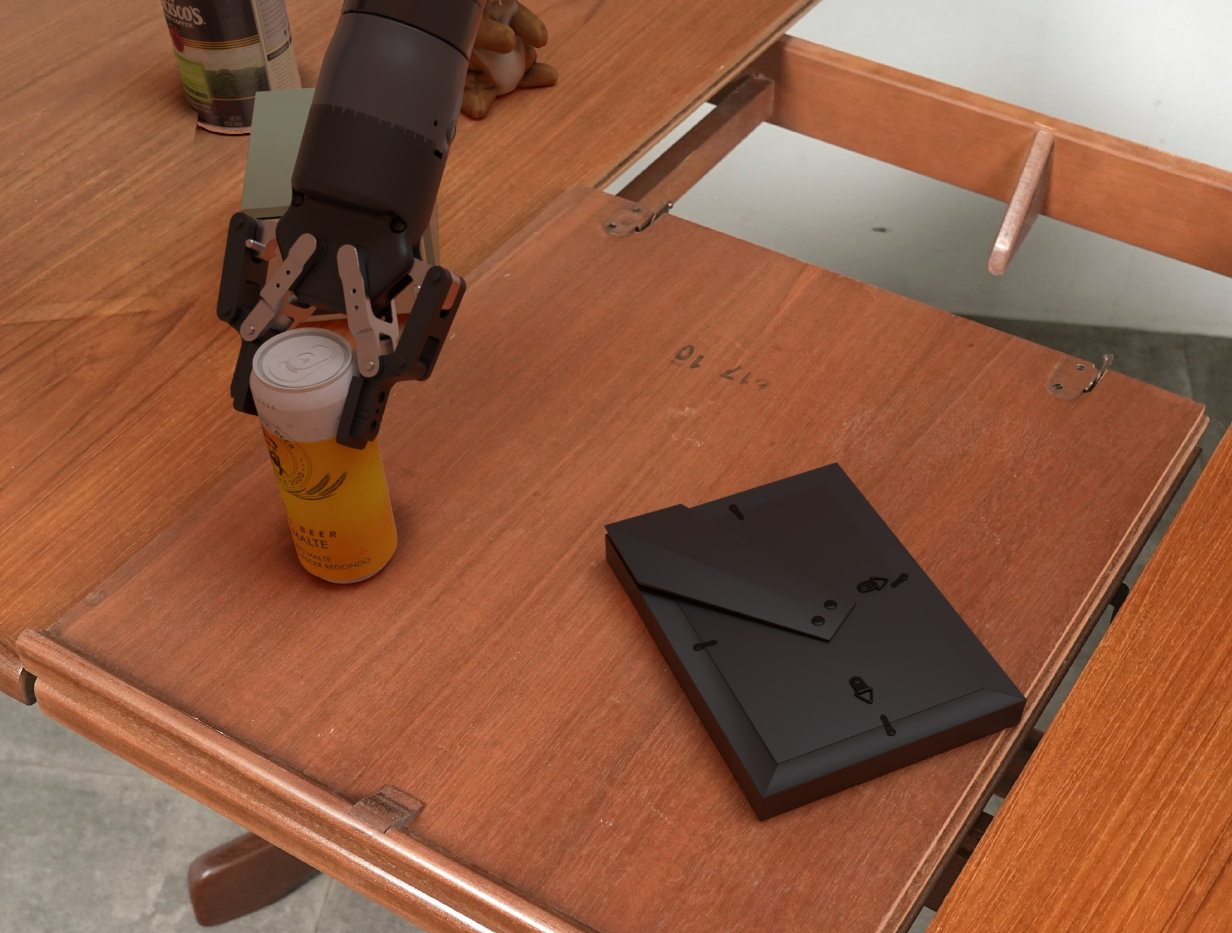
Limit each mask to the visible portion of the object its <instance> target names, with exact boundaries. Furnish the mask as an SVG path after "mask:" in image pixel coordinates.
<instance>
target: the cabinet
mask: <svg viewBox="0 0 1232 933" xmlns="http://www.w3.org/2000/svg"><path fill="white" fill-rule="evenodd" d="M315 88H316V86H315V87H302V89H289V90H275V91H262V92H256V94H255V102H254V109H253V117H252V125H251V132H250V134H249V140H248V141H249V142H248V147H247V148H248V149H247V155H246V165H245V171H244V172H245V173H244V180H243V186H242V193H241V203H240V208H239V210H240V212H243V213H245V214H247V215H249V216H251V217H253V218H256V219H258V220H266V218H265V217H277V216H283V215H284V213H285V212H286V211H287V209H288V208H289V206H290V204H291V200H292V186H291V178H292V174H293V170H294V166H295V163H296V159H297V155H298V151H299V148H300V144H301V140H302V136H303V133H304V129H305V125H306V122H307V118H308V114H309V110H310V107H311V104H312V100H313V96H314V92H315ZM438 216H439V215H438V196H437V197H436V201H435V204H434V208H433V212H432V215H431V219H430V222H429V226H428V228H427V229H426V230H425V232H424V234H423V240H424V247H425V254H426V261H427V264H429V265H432V266H441V257H440V256H441V255H440V236H439V217H438ZM400 315H401V316H402V315H410V313H402V314H397V316H400ZM342 320H348V319H347V318H343V319H332V320H320V321H308V322H300V323H299V324H307V323H317V322H319V323H320V322H328V321H329V322H331V321H342Z"/></svg>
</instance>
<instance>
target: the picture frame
mask: <svg viewBox="0 0 1232 933" xmlns="http://www.w3.org/2000/svg"><path fill="white" fill-rule="evenodd" d="M604 529H605V531H606V533H605V534H604V546H605V547H604V548H605V559H606V561H607V563H608V565H609V566H610V568H611V569H612V571H613V573H614V575H615V576H616V578H617V580H618V581H619V583H620V585H621V586H622V588H623V590H624V592H625V593H626V595H627V596H628V599H629V600H630V602H631V603H632V605H633V607H634V608H635V610H636V612H637V614H638V615H639V617H640V620H642V622H643V624H644V626H645V627H646V629H647V630H648V632H649V634H650V636H651V637H652V640H653V641H654V642H655V645H656V646H657V648H658V650H659V651H660V653H661V655H662V656H663V658H664V659H665V661H666V663H667V665H668V667H669V668H670V670H671V671H672V673H673V675H674V677H675V679H676V680H677V682H678V684H679V685H680V687H681V689H682V691H683V692H684V693H685V695H686V697H687V699H688V701H689V702H690V704H691V705H692V708H693V709H694V711H695V713H696V714H697V716H698V718H699V719H700V721H701V723H702V724H703V727H704V729H705V730H706V731H707V733H708V735H709V736H710V738H711V740H712V741H713V743H714V745H715V746H716V748H717V750H718V751H719V753H720V755H721V757H722V759H723V760H724V762H725V763H726V765H727V767H728V768H729V770H730V772H731V774H732V776H733V777H734V779H735V781H736V782H737V784H738V786H739V787H740V790H741V791H742V793H743V795H744V796H745V798H746V800H747V802H748V803H749V804H750V806H751V808H752V809H753V811H754V813H755V815H756V817H757V818H758V820H759V821H760V822H763V821H765V820H767V819H770V818H773V817H775V816H777V815H780V814H783V813H785V812H788V811H791V810H794V809H797V808H799V807H802V806H804V805H808V804H809V803H812V802H815V801H818V800H820V799H823V798H826V797H829V796H831V795H833V794H836V793H839V792H841V791H844V790H847V789H850V788H852V787H854V786H858V785H860V784H862V783H865V782H868V781H870V780H874V779H876V778H878V777H881V776H883V775H886V774H889V773H891V772H895V771H897V770H899V769H903V768H905V767H907V766H910V765H912V764H916V763H918V762H921V761H923V760H927V759H929V758H931V757H934V756H937V755H939V754H942V753H944V752H948V751H949V750H953V749H955V748H958V747H960V746H962V745H965V744H968V743H971V742H974V741H976V740H978V739H982V738H984V737H987V736H990V735H992V734H996V733H997V732H1000V731H1003V730H1006V729H1008V728H1010V727H1013V726H1016V725H1018V724H1020V723H1021V720H1022V717H1023V714H1024V711H1025V707H1026V704H1027V701H1028V698H1026V696H1025V695H1024V694H1023V693H1022V691H1021V690H1020V688H1018V687H1017V684H1015V683H1014V681H1013V680H1012V679H1011V678H1010V676H1009V675H1008V674H1007V673H1006V671H1005V670H1004V669H1003V668H1002V667H1001V665H1000V663H998V661H997V660H996V659H995V657H993V655H992V654H991V652H990V651H989V650H988V648H986V646H985V645H984V643H983V642H982V641H981V640H980V639H979V638H978V636H976V634H975V632H973V630H972V629H971V627H970V626H969V625H968V624H967V623H966V621H965V620H964V618H962V616H961V615H960V614H959V613H958V611H957V610H956V609H955V608H954V607H953V605H952V604H951V603H950V601H949V600H948V599H947V598H946V596H945V595H944V594H943V593H942V592H941V590H940V589H939V588H938V587H937V585H936V584H935V583H934V581H933V580H932V579H931V578H930V576H929V575H928V574H927V573H926V571H925V570H924V569H923V568H922V567H921V565H920V564H919V563H918V562H917V560H916V559H915V558H914V556H912V553H910V552H909V550H908V549H907V548H906V547H905V545H904V544H903V543H902V541H901V540H900V538H898V536H896V534H895V533H894V531H893V530H892V529H891V528H890V526H889V525H888V524H887V522H886V521H885V520H884V519H883V518H882V516H881V515H880V513H878V512H877V510H876V509H875V508H874V507H873V505H872V504H871V503H870V502H869V500H868V499H867V498H866V496H865V495H864V494H863V493H862V491H861V490H860V489H859V488H858V486H857V485H856V484H855V482H854V481H853V480H852V479H851V478H850V476H849V475H848V474H847V473H846V471H844V469H843V468H842V467H841V465H840V464H839V463H838V462H837V461H836V462H832V463H829V464H826V465H823V466H819V467H816V468H813V469H810V470H807V471H804V472H801V473H797V474H794V475H791V476H788V477H785V478H781V479H778V480H775V481H771V482H768V483H764V484H762V485H759V486H755V487H752V488H749V489H746V490H742V491H740V492H736V493H733V494H730V495H726V496H724V497H720V498H717V499H714V500H711V501H707V502H704V503H701V504H698V505H695V506H691V507H688V506H687V505H684V504H682V503H679V504H675V505H671V506H667V507H663V508H660V509H657V510H653V511H650V512H646V513H643V514H639V515H636V516H633V517H628V518H624V519H622V520H618V521H615V522H610V523H608V524H604Z"/></svg>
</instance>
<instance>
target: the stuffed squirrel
mask: <svg viewBox="0 0 1232 933" xmlns="http://www.w3.org/2000/svg"><path fill="white" fill-rule="evenodd" d="M548 34H549V33H548V29H547V26H546V25H545V23H544V22H543V21H542V19H541V18H539V17H538V16H537V15H536V14H535V13H534V12H532V11H531V9H529V8H528V7H527V6H526V5H524V4H523V3H522V2H519V1H518V0H486V3H485V7H484V11H483V14H482V17H481V21H480V24H479V28H478V31H477V35H476V39H475V42H474V46H473V49H472V53H471V57H470V60H469V63H468V69H467V74H466V79H465V86H464V94H463V101H462V106H461V111H462V112H464V113H466V114H467V115H469V117H470V116H471V117H472V118H474V119H478V118H485V116H486V115H487V113H489V110H490V109H491V106H492V104H493V103H494V101H495V99H496V97H497V96H503V95H505V94H506V95H507V94H508V93H511V92H512V91H514V90H516V88H517V86H518V87H521V88H529V87H540V86H541V87H542V86H549V85H550V86H551V85H555V84H557V81H558V78H559V72H558V70H557V69H556V68H555V67H554V66H552V65H550V64H549V63H545V62H537V60H538V53H537V50H536V49H538V50H539V49H541V48H544V47H546V46H547V44H548V40H549V35H548Z"/></svg>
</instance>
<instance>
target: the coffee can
mask: <svg viewBox="0 0 1232 933" xmlns="http://www.w3.org/2000/svg"><path fill="white" fill-rule="evenodd" d="M160 4H161V6H162V11H163V15H164V18H165V22H166V25H167V30H168V33H169V36H170V40H171V44H172V48H173V51H174V56H175V59H176V63H177V66H178V70H179V71H178V72H179V74H180V78H181V81H182V85H183V86H182V87H183V89H184V93H185V99H186V102H187V104H188V105H189V107H190V108H191V109H192V110H193V111H194V112H196V113H198V115H197V120H196V122H197V121H198V122H200V123H202V124H204V125H207V126H210V127H213V128H217V129H221V130H231V132H232V131H233V130H234V131H235V132H237V131H240V132H242V131H244V130H246V131H247V130H251V125H252V117H253V109H254V102H255V94H256V92H262V91H275V90H289V89H302V88H303V86H302V82H301V76H300V72H299V66H298V60H297V55H296V51H295V46H294V42H293V35H292V30H291V26H290V20H289V16H288V11H287V5H286V0H160Z"/></svg>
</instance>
